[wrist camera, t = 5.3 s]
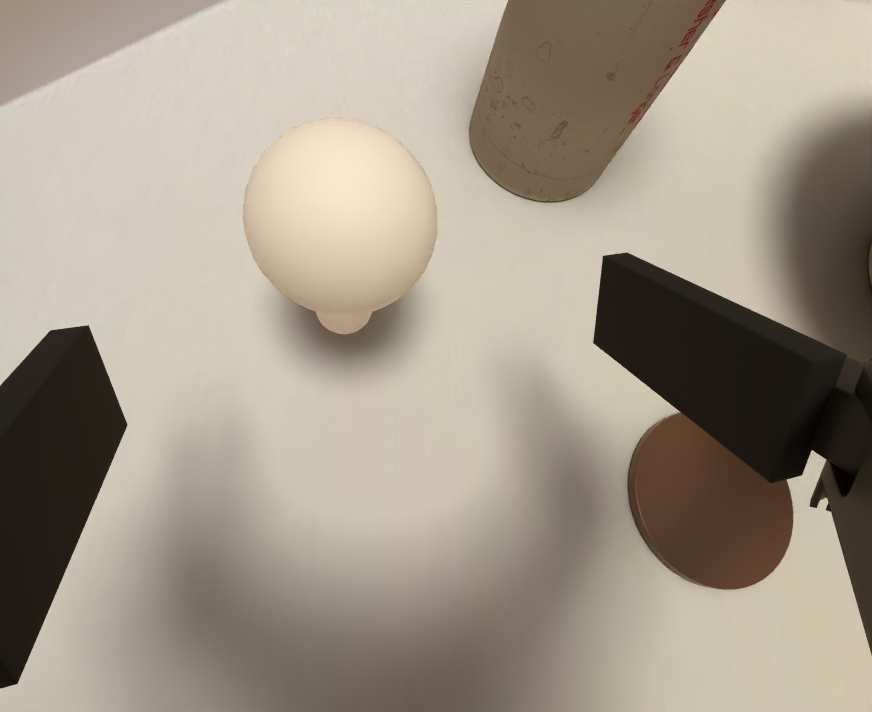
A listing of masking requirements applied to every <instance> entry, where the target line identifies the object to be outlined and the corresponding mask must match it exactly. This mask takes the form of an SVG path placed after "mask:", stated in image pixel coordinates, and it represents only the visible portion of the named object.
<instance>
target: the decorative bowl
mask: <svg viewBox="0 0 872 712" xmlns="http://www.w3.org/2000/svg"><path fill="white" fill-rule="evenodd" d="M869 275H870V281H871V286H872V243H871V247H870V252H869Z"/></svg>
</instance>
